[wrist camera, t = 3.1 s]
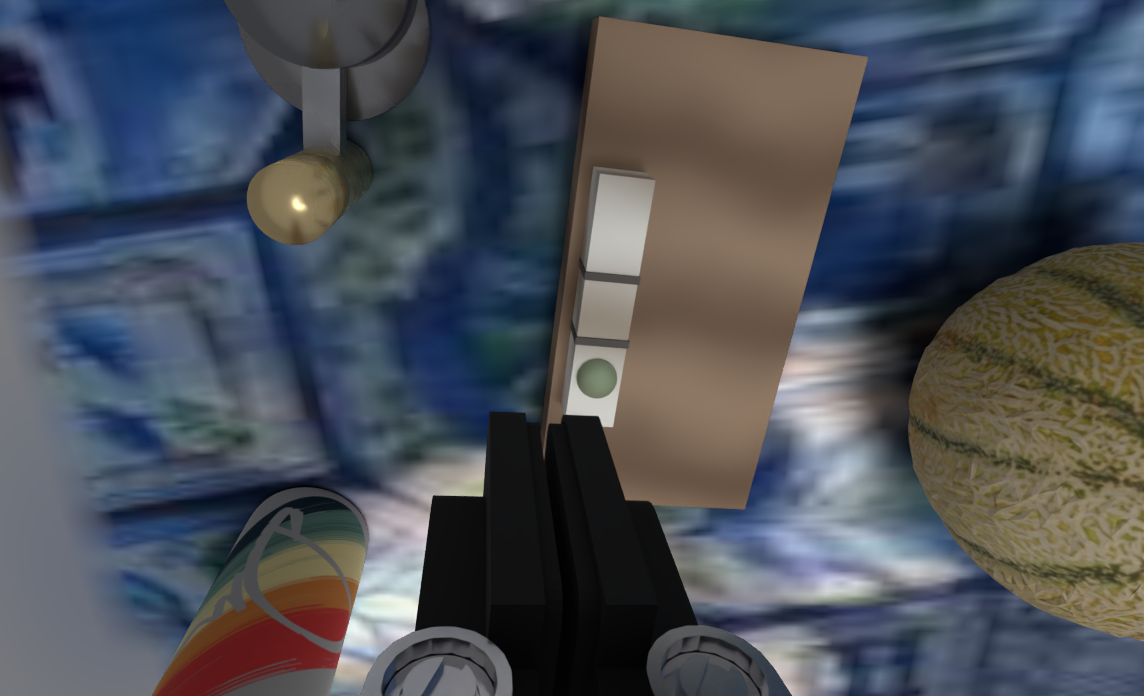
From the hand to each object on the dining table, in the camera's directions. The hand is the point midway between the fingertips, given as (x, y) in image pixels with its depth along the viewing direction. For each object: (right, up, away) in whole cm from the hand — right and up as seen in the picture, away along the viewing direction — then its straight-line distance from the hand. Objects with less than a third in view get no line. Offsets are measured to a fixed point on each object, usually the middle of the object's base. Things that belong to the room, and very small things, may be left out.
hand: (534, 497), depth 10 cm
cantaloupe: (+21, +2, +22) cm, 31 cm away
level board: (+5, +5, +19) cm, 20 cm away
